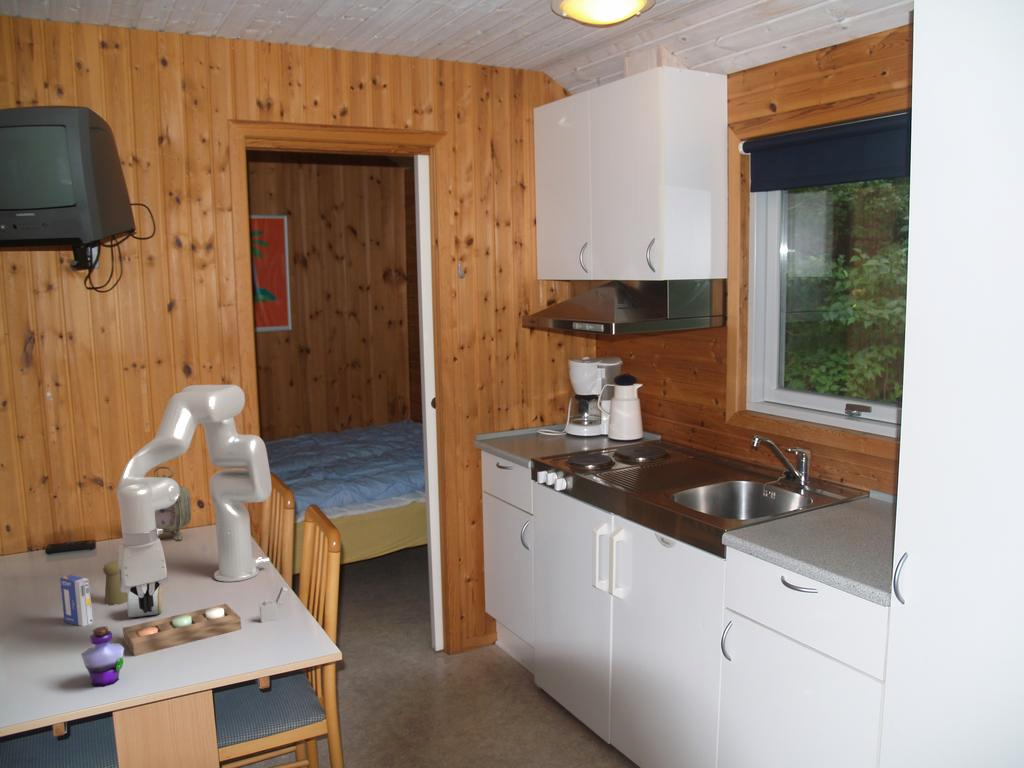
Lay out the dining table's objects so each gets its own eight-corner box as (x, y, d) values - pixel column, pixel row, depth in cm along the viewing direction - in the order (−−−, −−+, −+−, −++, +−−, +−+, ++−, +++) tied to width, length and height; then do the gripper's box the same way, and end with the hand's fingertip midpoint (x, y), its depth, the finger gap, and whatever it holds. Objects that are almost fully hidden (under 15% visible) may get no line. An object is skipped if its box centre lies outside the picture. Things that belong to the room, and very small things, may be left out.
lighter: (261, 622, 223) (259, 592, 222) (260, 620, 225) (258, 590, 224) (289, 617, 226) (287, 587, 225) (288, 615, 228) (286, 585, 227)
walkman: (64, 621, 228) (59, 576, 227) (74, 617, 231) (69, 573, 229) (83, 626, 224) (78, 581, 223) (93, 622, 227) (88, 577, 225)
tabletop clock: (142, 541, 298) (136, 469, 295) (157, 533, 307) (151, 463, 304) (182, 542, 296) (176, 469, 293) (196, 534, 305) (190, 463, 302)
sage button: (189, 623, 220) (188, 613, 220) (194, 628, 217) (193, 619, 216) (171, 627, 218) (170, 618, 217) (175, 633, 214) (174, 623, 214)
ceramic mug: (162, 617, 229) (159, 588, 228) (128, 621, 227) (125, 592, 226) (166, 604, 239) (164, 576, 238) (133, 608, 237) (131, 580, 236)
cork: (119, 605, 239) (115, 566, 237) (99, 604, 240) (96, 565, 238) (133, 597, 244) (129, 559, 243) (113, 596, 246) (110, 558, 244)
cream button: (221, 615, 225) (221, 606, 224) (226, 620, 221) (226, 611, 221) (204, 619, 222) (203, 610, 222) (209, 624, 219) (208, 615, 218)
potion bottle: (124, 686, 190) (119, 633, 188) (80, 693, 187) (75, 639, 186) (129, 670, 198) (124, 618, 197) (87, 676, 196) (82, 624, 194)
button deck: (226, 614, 229) (225, 603, 229) (241, 629, 219) (240, 617, 219) (123, 639, 215) (122, 627, 215) (134, 656, 205) (133, 643, 205)
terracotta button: (156, 635, 216) (155, 625, 216) (160, 640, 212) (159, 631, 212) (136, 639, 213) (136, 630, 213) (141, 645, 210) (140, 636, 209)
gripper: (168, 527, 217) (175, 598, 220) (102, 539, 209) (110, 614, 211) (176, 534, 211) (183, 607, 213) (109, 547, 203) (116, 623, 205)
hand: (146, 610), depth 212 cm, fingers closed
